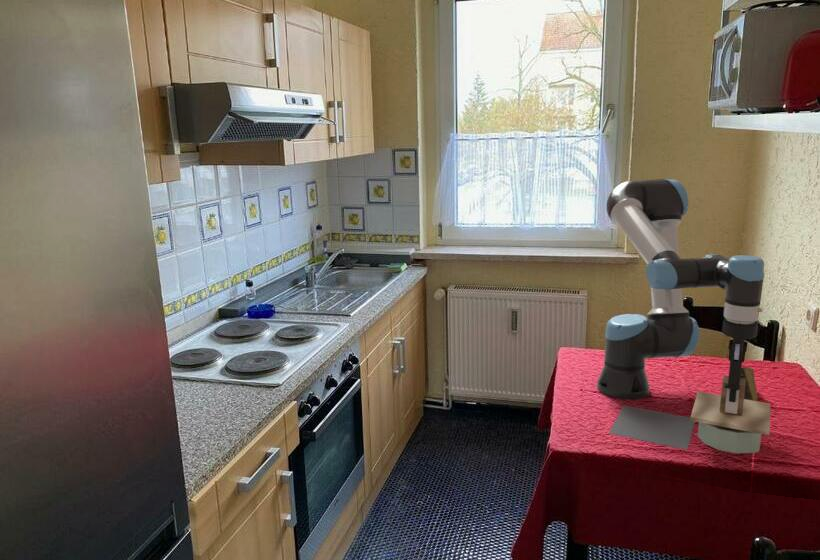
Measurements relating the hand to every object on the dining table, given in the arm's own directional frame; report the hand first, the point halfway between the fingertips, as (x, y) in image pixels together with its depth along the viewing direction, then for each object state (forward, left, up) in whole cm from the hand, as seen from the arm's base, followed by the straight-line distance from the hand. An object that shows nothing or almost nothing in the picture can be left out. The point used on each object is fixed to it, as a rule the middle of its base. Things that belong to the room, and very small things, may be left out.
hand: (731, 407), depth 155 cm
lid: (0, 0, -2) cm, 2 cm away
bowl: (0, 0, -9) cm, 9 cm away
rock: (+4, +32, -10) cm, 34 cm away
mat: (-18, -1, -9) cm, 20 cm away
